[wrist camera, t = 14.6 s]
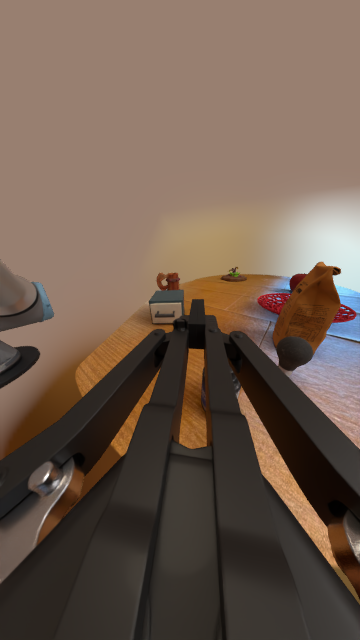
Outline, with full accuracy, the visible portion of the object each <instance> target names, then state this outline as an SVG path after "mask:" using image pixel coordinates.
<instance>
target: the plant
mask: <svg viewBox="0 0 360 640" xmlns="http://www.w3.org/2000/svg"><path fill="white" fill-rule="evenodd" d="M236 268H237V269H238V267H236ZM236 268H235V270H236ZM233 270H234V269H233V268H232V271H233ZM235 270H234V271H233V272H232V273H231V272H230V271H231V270H229V272H230V274H228V275H226V276H222V278H221V279H223V280H226V281H231V282H232V281H243V280H246V279H247V277H245V276H240V275H239V274H240V273H238V272H235Z"/></svg>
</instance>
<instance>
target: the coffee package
mask: <svg viewBox="0 0 360 640" xmlns="http://www.w3.org/2000/svg"><path fill="white" fill-rule="evenodd" d="M340 273H341V269H340V268H338V267H333V266H326V265H325V264H324V263H323V262H319V263H317V265H316V266H315V267H314V268H313V269H312V270H311V271H310V272H309V273H308V274H307V275H306V277H305V278H304V279H303V280H302V281H301V282H300V283H299V284H298V285H297V286H296V288H295V289H294V290H293V292H292V294H291V295H290V297H289V299H288V300H287V301H286V303H285V305H284V306H283V308H282V310H281V313H280V315H279V317H278V320H277V322H276V325H275V328H274V331H273V341H274V345H275V347H277V344H278V342H279V341H280V340H281V339H283V338H285V337H289V336H296V337H300V338H303V339H304V340H306V341H307V342H308V343H309V344H310V345H311V346H312V349H313V355H314V353H315V351H316V349H317V348H318V346H319V345H320V344H321V343H322V341H323V340H324V339H325V337H326V332H327V330H328V329H329V327H330V325H331V323H332V321H333V319H334V317H335V315H336V314H337V312H338V310H339V308H340V306H341V303H340V299H339V295H338V293H337V290H336V287H335V285H334V283H333V277H332V276H333V275H338V274H340Z"/></svg>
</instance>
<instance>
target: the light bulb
mask: <svg viewBox="0 0 360 640" xmlns="http://www.w3.org/2000/svg"><path fill="white" fill-rule="evenodd" d="M276 351H277V355H278V357H279V366H278V367H279V368H280V369H281V370H282V371H283V372H284V373H285V374H286V375H287V376H288V377H289V376H290V375H291V374H292V372H293V370H295V369H296V368H297V367H299V366H301V365H304V364H306V363H308V362H309V361H310V360H311V359H312V357H313V349H312V346H311V345H310V344H309V343H308V342H307V341H306V340H304V339H303V338H300V337H296V336H289V337H285V338H283V339H281V340H280V341H279V342H278V344H277V347H276Z"/></svg>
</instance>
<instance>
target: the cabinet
mask: <svg viewBox="0 0 360 640" xmlns="http://www.w3.org/2000/svg"><path fill="white" fill-rule="evenodd" d="M179 302H180V303H181V309H182V315H184V291H183V290H163V291H156V292H155V294H154V295H153V296H152V298H151V299H150V300H149V306H150V304H154V303H179ZM150 312H151V308H150ZM151 318H152V314H151ZM152 324H170V323H153V320H152Z"/></svg>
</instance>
